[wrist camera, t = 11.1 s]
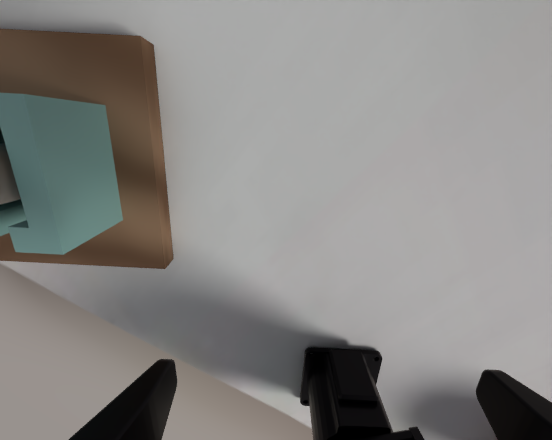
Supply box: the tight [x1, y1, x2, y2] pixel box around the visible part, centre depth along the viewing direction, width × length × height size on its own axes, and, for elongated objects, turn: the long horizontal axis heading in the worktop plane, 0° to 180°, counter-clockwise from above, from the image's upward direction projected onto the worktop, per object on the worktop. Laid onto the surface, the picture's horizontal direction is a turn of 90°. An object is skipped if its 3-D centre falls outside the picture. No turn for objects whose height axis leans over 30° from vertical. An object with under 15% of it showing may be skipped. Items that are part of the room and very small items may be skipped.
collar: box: [0, 93, 123, 255], centre depth 14 cm, size 7×7×5 cm
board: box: [0, 29, 173, 269], centre depth 13 cm, size 14×12×8 cm
